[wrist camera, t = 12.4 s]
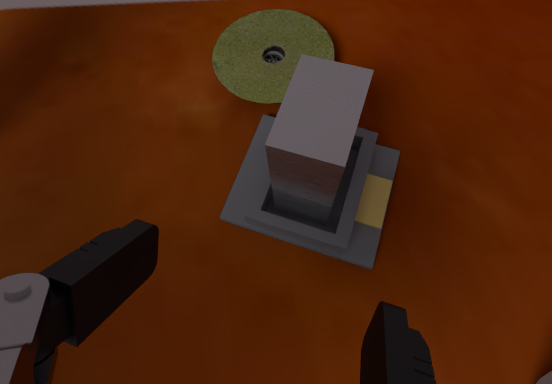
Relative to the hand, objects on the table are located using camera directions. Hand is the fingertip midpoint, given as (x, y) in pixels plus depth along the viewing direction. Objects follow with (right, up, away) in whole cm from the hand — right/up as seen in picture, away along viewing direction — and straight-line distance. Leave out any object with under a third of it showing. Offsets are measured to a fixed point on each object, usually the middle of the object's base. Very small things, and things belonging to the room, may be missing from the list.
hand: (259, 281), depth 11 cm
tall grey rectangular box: (+3, +4, +14) cm, 15 cm away
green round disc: (0, +15, +20) cm, 25 cm away
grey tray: (+4, +4, +15) cm, 16 cm away
